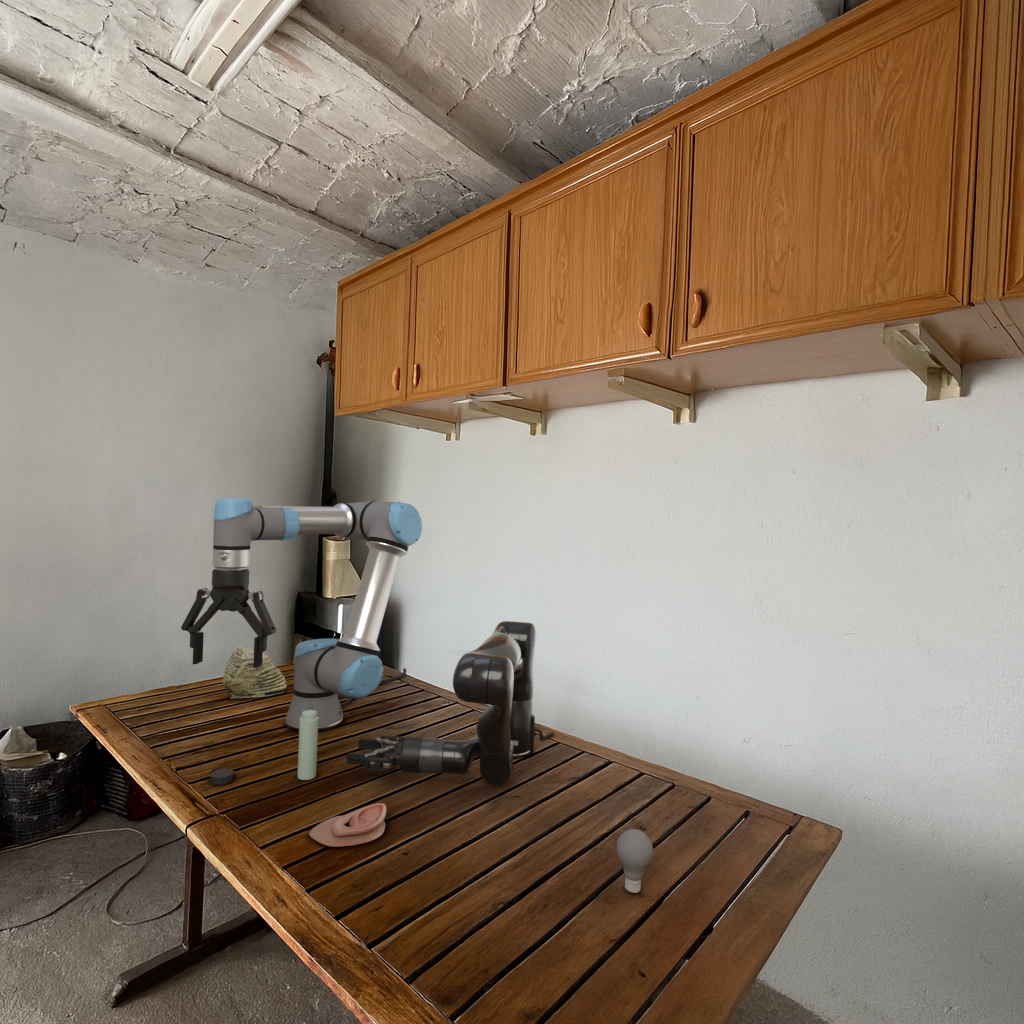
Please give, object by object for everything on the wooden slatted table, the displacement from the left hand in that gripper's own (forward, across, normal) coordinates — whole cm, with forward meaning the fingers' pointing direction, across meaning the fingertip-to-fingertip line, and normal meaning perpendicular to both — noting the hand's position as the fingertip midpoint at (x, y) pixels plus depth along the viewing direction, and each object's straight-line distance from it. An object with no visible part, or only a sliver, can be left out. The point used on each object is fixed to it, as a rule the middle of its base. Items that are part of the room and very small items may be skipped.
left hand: (227, 664), depth 139 cm
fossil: (+26, -20, +57) cm, 66 cm away
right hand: (+19, +27, +5) cm, 34 cm away
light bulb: (+26, +86, -29) cm, 94 cm away
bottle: (+26, +17, +4) cm, 31 cm away
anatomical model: (+26, +34, -18) cm, 46 cm away
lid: (+24, 0, 0) cm, 24 cm away
